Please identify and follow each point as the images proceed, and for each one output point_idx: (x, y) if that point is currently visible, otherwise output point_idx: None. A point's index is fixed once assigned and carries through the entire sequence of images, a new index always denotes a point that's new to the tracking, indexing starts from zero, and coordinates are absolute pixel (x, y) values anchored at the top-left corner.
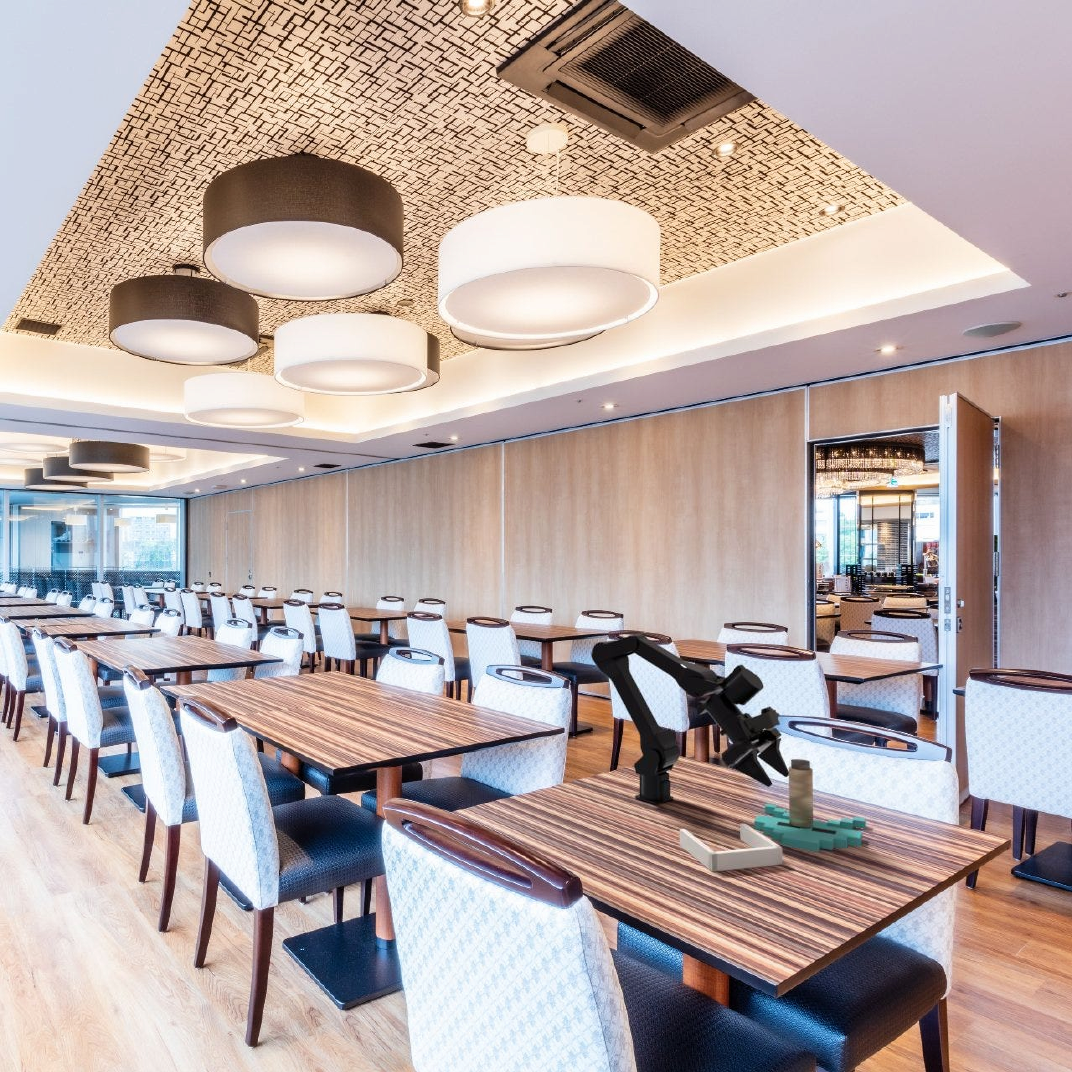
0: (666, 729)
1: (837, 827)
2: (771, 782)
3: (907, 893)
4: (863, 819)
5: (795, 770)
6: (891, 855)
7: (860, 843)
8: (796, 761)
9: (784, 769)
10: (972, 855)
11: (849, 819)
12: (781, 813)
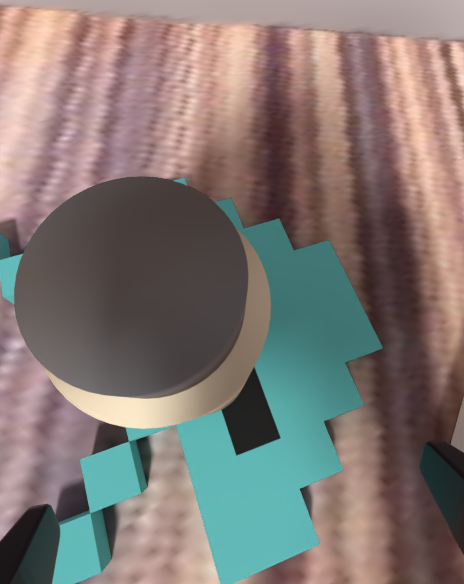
0: None
1: None
2: (441, 446)
3: (376, 48)
4: None
5: (269, 297)
6: (188, 123)
7: None
8: (211, 286)
9: (28, 570)
10: (47, 19)
11: (2, 270)
12: (96, 526)
